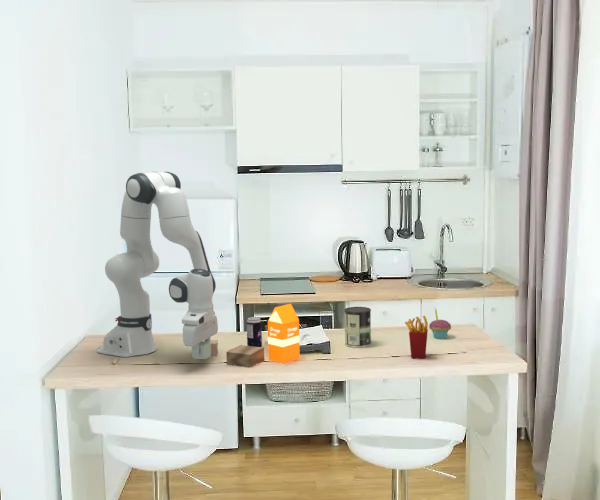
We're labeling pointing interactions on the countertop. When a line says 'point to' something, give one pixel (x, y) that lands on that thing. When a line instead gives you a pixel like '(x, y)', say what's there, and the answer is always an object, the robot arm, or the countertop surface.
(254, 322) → the beverage can
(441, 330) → the cupcake
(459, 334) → the countertop surface
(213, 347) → the terracotta cube
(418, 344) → the french fries
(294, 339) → the orange juice
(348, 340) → the coffee can
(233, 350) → the walnut block
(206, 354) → the sage cube
